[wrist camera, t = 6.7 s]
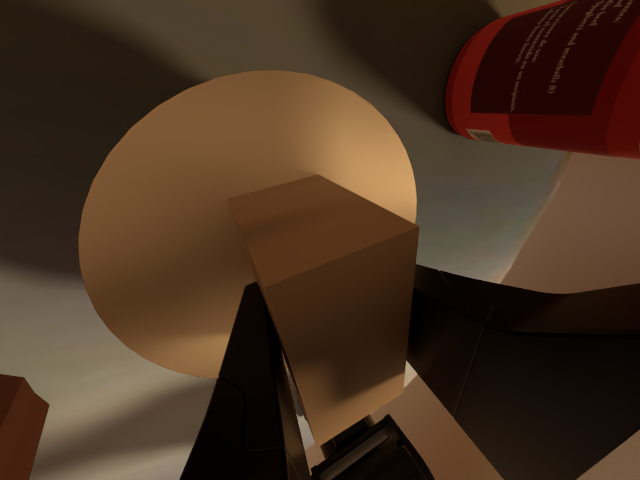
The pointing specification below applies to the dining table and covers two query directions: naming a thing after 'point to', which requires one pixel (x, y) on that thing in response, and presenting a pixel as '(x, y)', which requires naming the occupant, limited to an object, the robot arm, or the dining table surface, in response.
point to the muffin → (19, 427)
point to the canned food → (553, 79)
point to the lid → (261, 236)
